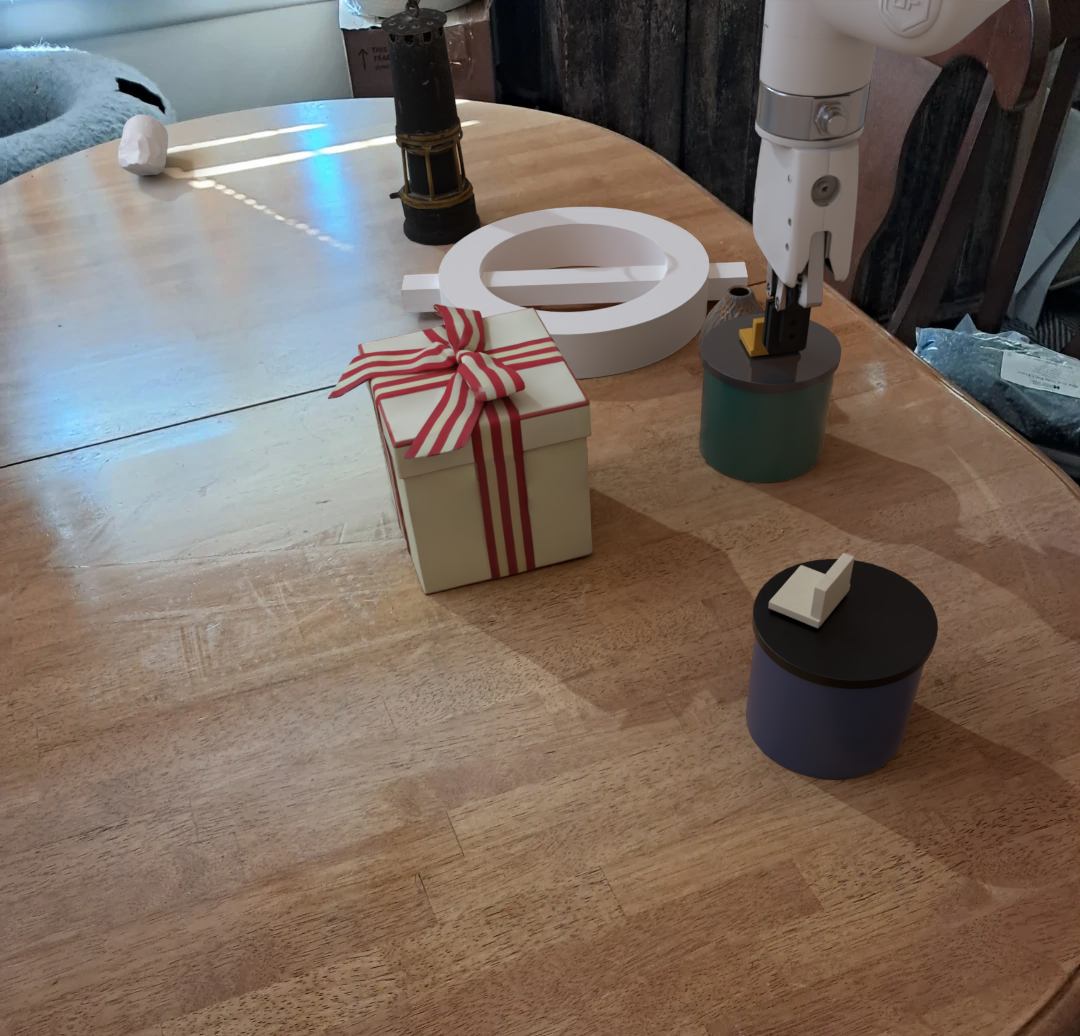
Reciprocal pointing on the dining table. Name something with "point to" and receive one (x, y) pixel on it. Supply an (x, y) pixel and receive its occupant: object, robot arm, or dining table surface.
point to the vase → (730, 309)
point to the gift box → (480, 445)
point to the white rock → (143, 146)
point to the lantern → (428, 130)
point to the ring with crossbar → (585, 282)
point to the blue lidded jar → (839, 674)
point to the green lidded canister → (765, 403)
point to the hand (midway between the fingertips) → (783, 347)
